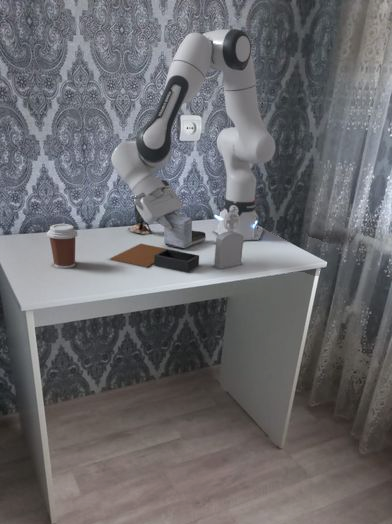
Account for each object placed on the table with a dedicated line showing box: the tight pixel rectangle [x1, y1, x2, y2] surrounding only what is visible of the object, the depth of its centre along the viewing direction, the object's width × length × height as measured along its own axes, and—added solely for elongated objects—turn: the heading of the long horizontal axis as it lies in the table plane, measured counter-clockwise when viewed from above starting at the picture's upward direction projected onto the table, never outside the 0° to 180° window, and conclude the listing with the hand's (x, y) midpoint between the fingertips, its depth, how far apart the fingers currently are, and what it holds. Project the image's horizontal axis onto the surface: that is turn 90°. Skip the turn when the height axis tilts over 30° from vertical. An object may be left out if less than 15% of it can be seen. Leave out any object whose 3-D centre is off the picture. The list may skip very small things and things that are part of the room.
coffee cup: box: [46, 223, 78, 269], centre depth 152 cm, size 9×9×12 cm
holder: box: [153, 248, 200, 274], centre depth 159 cm, size 8×12×4 cm
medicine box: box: [163, 214, 193, 249], centre depth 154 cm, size 8×4×9 cm, turn 56°
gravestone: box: [213, 210, 244, 270], centre depth 159 cm, size 3×9×18 cm, turn 127°
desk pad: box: [109, 243, 171, 268], centre depth 167 cm, size 20×14×1 cm
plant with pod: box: [128, 203, 153, 235], centre depth 187 cm, size 8×11×20 cm
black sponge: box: [164, 230, 207, 249], centre depth 180 cm, size 16×8×4 cm, turn 143°
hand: (176, 227), depth 154 cm, fingers closed on medicine box, 5 cm apart
